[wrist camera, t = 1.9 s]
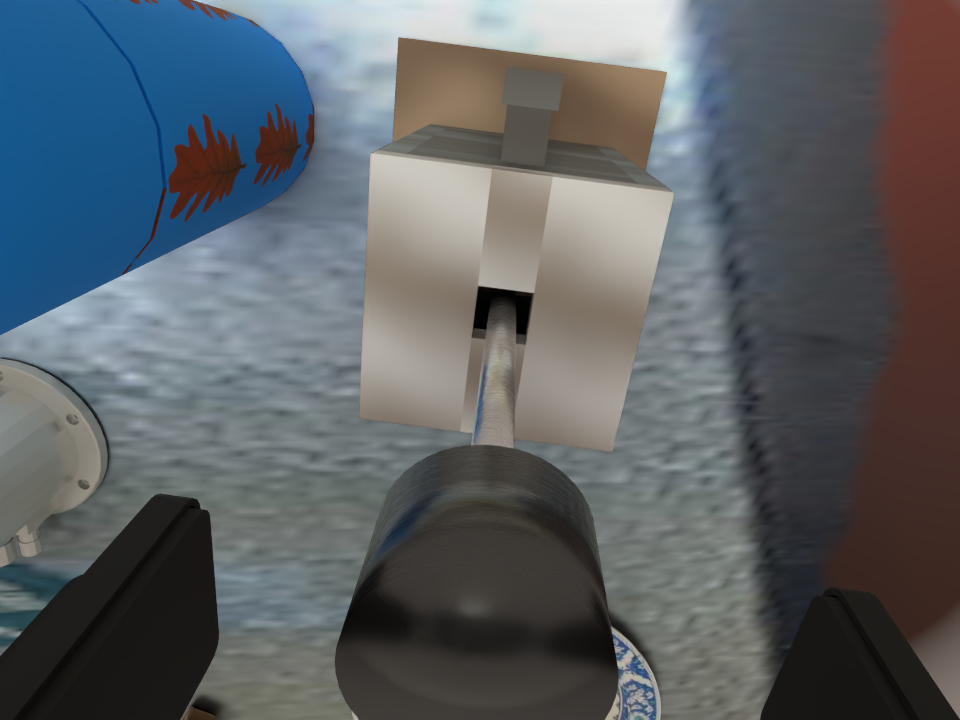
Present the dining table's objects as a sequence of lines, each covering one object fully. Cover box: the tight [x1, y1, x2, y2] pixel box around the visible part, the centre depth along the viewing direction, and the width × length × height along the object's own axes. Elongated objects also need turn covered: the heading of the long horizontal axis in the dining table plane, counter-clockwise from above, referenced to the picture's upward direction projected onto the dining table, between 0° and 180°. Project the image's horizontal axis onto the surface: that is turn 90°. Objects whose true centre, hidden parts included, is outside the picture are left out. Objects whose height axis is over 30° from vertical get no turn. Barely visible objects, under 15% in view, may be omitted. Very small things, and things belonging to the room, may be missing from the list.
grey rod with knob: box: [335, 288, 619, 720], centre depth 18 cm, size 4×4×20 cm
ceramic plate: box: [351, 626, 661, 720], centre depth 53 cm, size 26×26×3 cm
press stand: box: [359, 38, 674, 452], centre depth 30 cm, size 18×14×16 cm
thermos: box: [0, 0, 314, 335], centre depth 25 cm, size 11×11×25 cm
